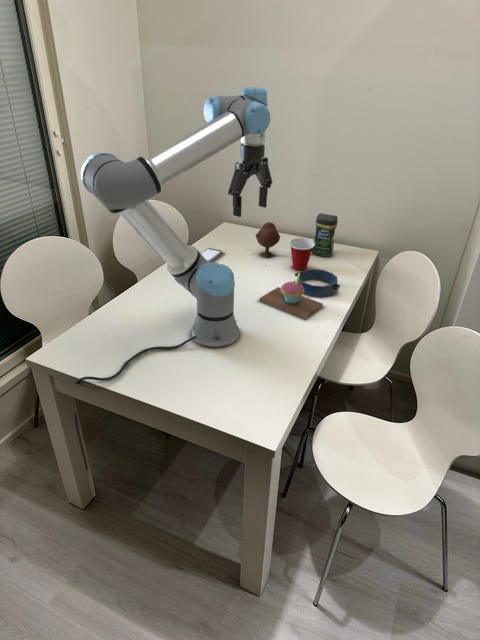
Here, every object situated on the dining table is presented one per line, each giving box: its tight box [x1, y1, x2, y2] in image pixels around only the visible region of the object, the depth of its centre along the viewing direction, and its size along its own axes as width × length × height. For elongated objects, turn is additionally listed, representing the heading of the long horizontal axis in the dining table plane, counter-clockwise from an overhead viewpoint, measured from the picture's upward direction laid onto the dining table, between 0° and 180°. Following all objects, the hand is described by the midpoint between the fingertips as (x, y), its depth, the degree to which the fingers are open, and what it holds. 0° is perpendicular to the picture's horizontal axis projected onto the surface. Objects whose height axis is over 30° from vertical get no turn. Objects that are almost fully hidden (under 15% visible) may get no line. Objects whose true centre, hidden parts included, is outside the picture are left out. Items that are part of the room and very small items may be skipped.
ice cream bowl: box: [255, 221, 281, 259], centre depth 204 cm, size 11×11×15 cm
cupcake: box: [280, 271, 305, 303], centre depth 165 cm, size 9×8×12 cm
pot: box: [294, 268, 341, 298], centre depth 180 cm, size 16×19×4 cm
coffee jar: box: [311, 212, 338, 258], centre depth 206 cm, size 10×8×19 cm
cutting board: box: [259, 286, 324, 320], centre depth 169 cm, size 12×20×2 cm, turn 51°
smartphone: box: [200, 247, 223, 263], centre depth 204 cm, size 7×1×15 cm
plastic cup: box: [288, 237, 315, 272], centre depth 194 cm, size 11×11×12 cm
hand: (250, 211), depth 151 cm, fingers open, 13 cm apart
